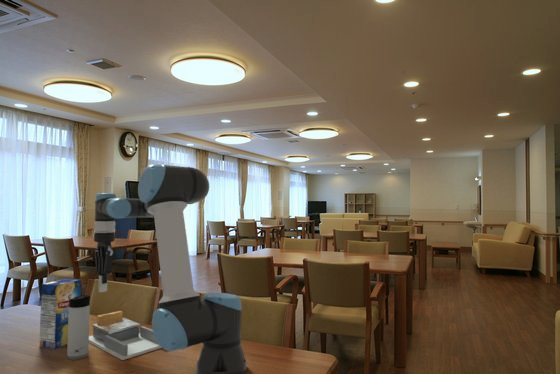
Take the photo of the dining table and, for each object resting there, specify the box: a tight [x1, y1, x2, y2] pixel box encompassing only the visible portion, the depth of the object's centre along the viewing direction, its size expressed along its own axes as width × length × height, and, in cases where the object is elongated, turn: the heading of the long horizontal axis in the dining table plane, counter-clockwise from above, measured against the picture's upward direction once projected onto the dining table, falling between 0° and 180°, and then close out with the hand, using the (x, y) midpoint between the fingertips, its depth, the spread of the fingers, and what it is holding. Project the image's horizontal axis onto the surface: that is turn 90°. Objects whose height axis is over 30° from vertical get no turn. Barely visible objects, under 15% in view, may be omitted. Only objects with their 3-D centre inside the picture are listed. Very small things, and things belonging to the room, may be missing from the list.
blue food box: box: [39, 278, 82, 350], centre depth 140 cm, size 7×11×22 cm, turn 163°
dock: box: [89, 325, 163, 361], centre depth 139 cm, size 28×16×4 cm, turn 50°
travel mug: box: [66, 294, 91, 361], centre depth 128 cm, size 6×7×20 cm
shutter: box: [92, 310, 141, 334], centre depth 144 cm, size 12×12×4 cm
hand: (102, 291), depth 152 cm, fingers closed
